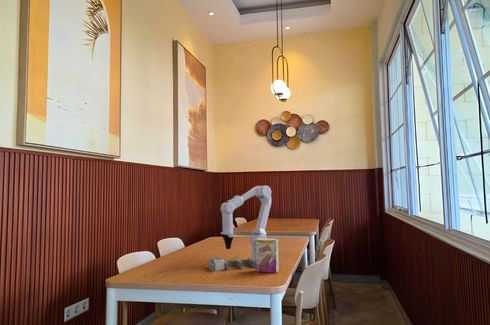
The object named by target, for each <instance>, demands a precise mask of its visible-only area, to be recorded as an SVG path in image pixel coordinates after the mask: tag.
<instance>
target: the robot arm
mask: <svg viewBox="0 0 490 325" xmlns="http://www.w3.org/2000/svg"><path fill="white" fill-rule="evenodd" d="M272 193H273V192H272V190H271V188H270V186H269V185H256V186H254V187H252V188H251V189H250V190H248V191H246V192H245V193H244V194H242V195H235V196H233V197H232V198H231V199H228V200H227V201H226V202H223V203H222V204H221V206H220V208H219V209H220V212H221V216H222V231H221V232H220V234H221V235H222V238H223V241H224V245H225V246H224V247H225V249H226V250H231V248H232V242H233V239H234V237H235V236H234V223H233V221H234V219H233V213H234V210H236V209H237V208H240V207H241V206H242V205H244V202H245V201H246V200H248V199H250V198H252V197H254V196H255V197H257V199H259V200H260V202H261V205H260V209H259V211H258V217H257V222H256V225H255V227H254V229H253V230H252V232H251V235H250V236H249V243H250V244H251V259H253V260H254V261H255V239H258V238H262V239H267V232H266V226H267V222H268V220H269V219H268V218H269V214H270V211H271V210H270V209H271V205H272Z"/></svg>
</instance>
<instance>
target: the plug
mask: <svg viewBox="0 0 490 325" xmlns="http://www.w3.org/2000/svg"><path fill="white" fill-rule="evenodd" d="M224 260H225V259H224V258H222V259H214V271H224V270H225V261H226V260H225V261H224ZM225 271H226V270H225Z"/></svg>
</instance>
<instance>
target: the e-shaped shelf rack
mask: <svg viewBox="0 0 490 325" xmlns="http://www.w3.org/2000/svg"><path fill="white" fill-rule="evenodd" d="M214 259H223V257H221V256H220V257H210V259H209V260H208V262H207V268H208V269H209V270H210V271H211V272H212V273H214V272H215V270H214ZM224 261H225V271H226V272H228V271H230V270H229V269H230V268H229V267H231V266H236V267H237V268H238V269H239V270H243V265H245V266H246V265H249V266H250V267H251V268H253V269H256V265H255V261H254V260H253V259H252V257H248V258H245V259H238V258H235V259H233V260H225V259H224Z"/></svg>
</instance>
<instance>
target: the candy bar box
mask: <svg viewBox="0 0 490 325" xmlns="http://www.w3.org/2000/svg"><path fill="white" fill-rule="evenodd" d="M255 265H256V268H255V272H257V273H270V274H277V273H278V272H279V270H280V269H279V266H280V265H279V239H277V238H266V239H262V238H258V239H255Z"/></svg>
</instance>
